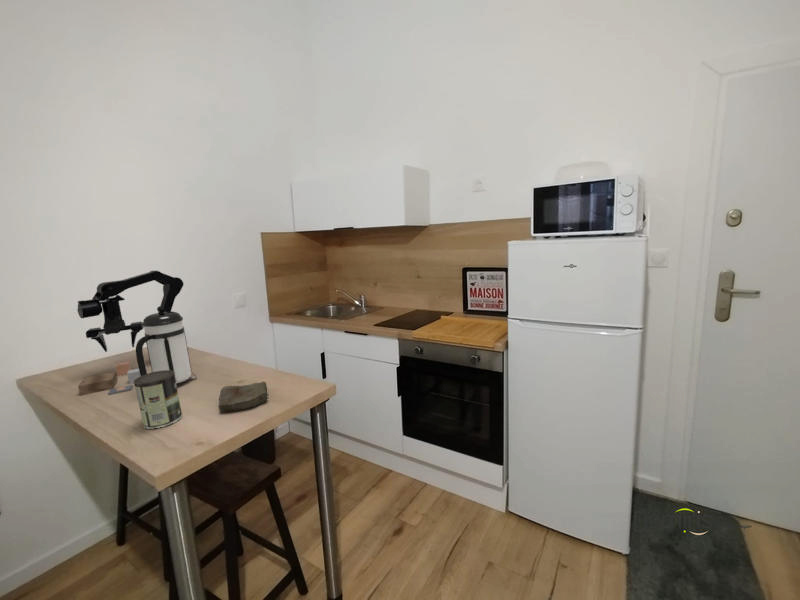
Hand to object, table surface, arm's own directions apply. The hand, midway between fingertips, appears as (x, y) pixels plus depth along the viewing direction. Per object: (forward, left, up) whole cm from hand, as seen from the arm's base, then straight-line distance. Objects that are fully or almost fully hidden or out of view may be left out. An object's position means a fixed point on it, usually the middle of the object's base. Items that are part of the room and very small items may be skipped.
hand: (120, 349), depth 159 cm
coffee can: (-18, +62, -11) cm, 65 cm away
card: (-2, +23, -10) cm, 25 cm away
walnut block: (+6, +14, -11) cm, 19 cm away
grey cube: (-6, +15, -10) cm, 19 cm away
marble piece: (-41, +62, -11) cm, 75 cm away
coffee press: (-19, +30, -11) cm, 37 cm away
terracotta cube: (0, 0, -10) cm, 11 cm away
